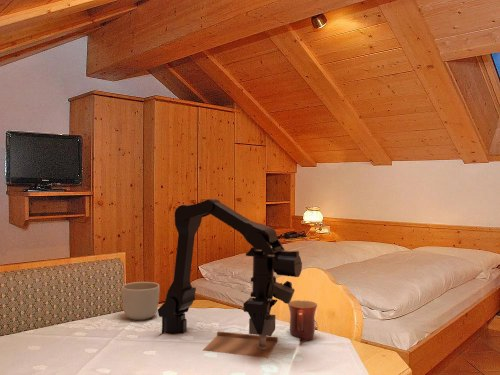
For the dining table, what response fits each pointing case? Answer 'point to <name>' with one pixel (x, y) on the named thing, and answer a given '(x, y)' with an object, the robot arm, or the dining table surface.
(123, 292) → the planter
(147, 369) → the dining table surface
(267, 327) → the gray square frame
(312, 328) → the mug
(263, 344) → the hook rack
